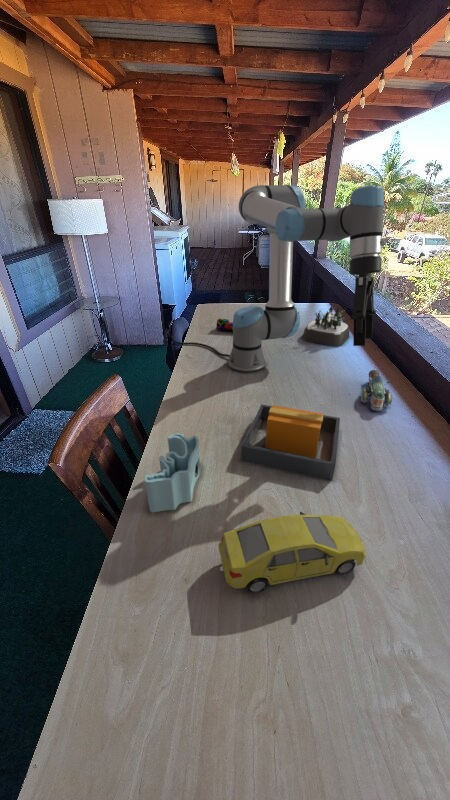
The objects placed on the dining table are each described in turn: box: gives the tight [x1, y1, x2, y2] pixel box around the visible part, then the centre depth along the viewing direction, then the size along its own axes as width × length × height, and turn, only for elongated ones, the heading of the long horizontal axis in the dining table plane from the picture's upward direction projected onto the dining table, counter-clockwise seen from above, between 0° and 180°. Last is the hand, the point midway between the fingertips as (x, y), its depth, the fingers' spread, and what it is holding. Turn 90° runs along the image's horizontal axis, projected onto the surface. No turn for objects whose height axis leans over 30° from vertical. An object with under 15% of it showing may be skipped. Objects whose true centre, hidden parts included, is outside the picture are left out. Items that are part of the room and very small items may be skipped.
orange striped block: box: [264, 404, 324, 459], centre depth 98 cm, size 14×8×11 cm, turn 71°
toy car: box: [218, 511, 367, 594], centre depth 66 cm, size 12×28×10 cm, turn 102°
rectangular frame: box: [240, 404, 341, 481], centre depth 99 cm, size 24×22×5 cm
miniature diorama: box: [302, 305, 351, 347], centre depth 169 cm, size 20×20×17 cm
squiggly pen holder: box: [144, 432, 201, 513], centre depth 85 cm, size 18×10×9 cm, turn 175°
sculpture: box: [215, 317, 233, 331], centre depth 180 cm, size 9×5×30 cm
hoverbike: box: [360, 366, 393, 413], centre depth 123 cm, size 10×25×8 cm, turn 163°
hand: (363, 341), depth 94 cm, fingers open, 13 cm apart
